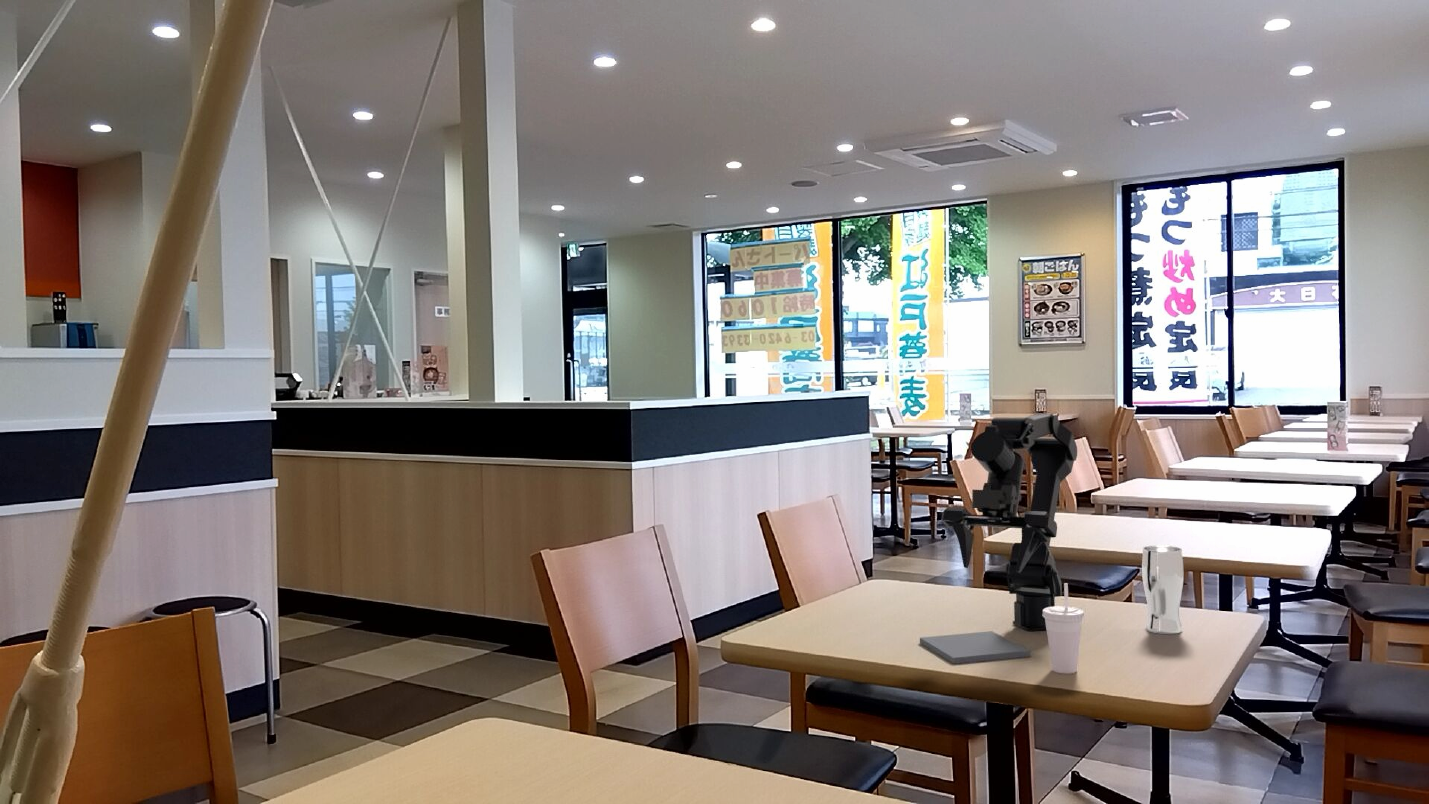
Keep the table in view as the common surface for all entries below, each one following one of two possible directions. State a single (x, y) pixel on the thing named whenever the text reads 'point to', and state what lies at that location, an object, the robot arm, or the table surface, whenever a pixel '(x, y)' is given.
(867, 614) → the table surface
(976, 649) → the placemat
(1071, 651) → the smoothie
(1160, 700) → the table surface
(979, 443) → the robot arm
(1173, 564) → the beer glass
